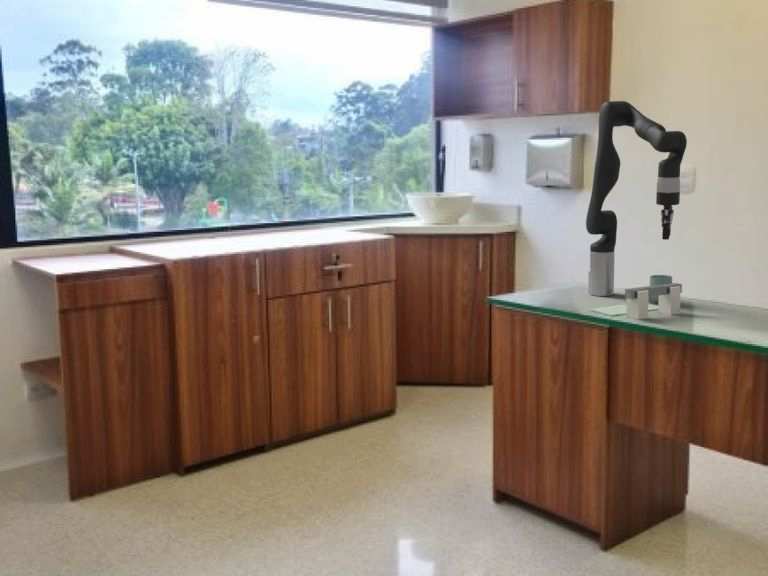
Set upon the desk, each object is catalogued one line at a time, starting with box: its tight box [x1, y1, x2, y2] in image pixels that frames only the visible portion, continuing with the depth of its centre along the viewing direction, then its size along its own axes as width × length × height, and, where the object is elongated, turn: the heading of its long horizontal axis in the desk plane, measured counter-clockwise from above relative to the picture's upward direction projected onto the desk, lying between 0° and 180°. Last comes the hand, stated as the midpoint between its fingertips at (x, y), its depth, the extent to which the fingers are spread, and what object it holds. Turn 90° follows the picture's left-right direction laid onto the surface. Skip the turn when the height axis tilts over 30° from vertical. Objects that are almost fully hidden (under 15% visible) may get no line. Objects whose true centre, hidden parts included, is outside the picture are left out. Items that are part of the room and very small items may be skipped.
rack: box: [625, 286, 681, 320], centre depth 264 cm, size 6×18×10 cm, turn 113°
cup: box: [649, 274, 673, 305], centre depth 284 cm, size 8×8×10 cm
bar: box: [624, 282, 683, 299], centre depth 263 cm, size 3×22×3 cm, turn 113°
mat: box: [588, 303, 658, 317], centre depth 275 cm, size 12×24×1 cm, turn 113°
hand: (666, 237), depth 266 cm, fingers open, 8 cm apart
